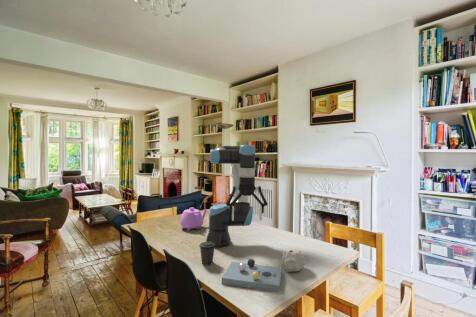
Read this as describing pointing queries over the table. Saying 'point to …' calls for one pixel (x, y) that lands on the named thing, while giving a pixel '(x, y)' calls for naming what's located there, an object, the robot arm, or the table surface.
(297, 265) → the candle
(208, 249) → the coffee cup
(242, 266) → the steel ball
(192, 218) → the teapot
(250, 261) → the black ball
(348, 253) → the table surface
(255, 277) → the mustard ball
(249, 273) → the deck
